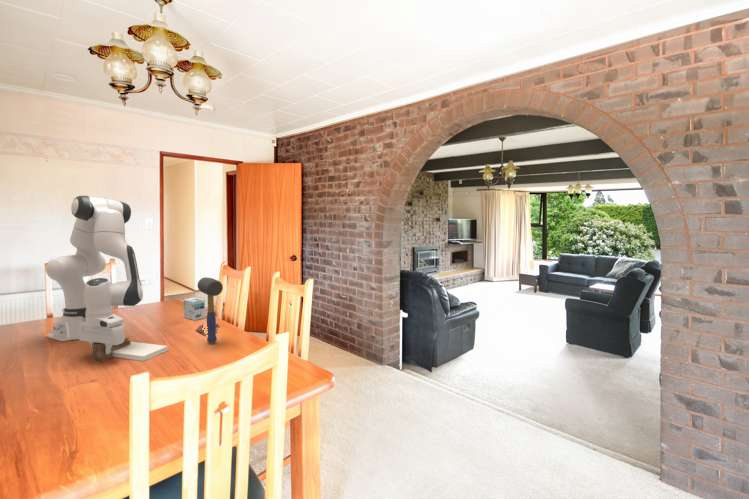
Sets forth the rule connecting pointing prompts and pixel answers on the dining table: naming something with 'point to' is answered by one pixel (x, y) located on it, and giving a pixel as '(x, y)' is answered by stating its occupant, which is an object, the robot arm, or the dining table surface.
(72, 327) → the robot arm
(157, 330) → the dining table surface
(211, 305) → the rubber mallet
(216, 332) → the wooden fragment
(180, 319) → the dining table surface
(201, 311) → the light bulb box
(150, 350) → the board
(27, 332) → the dining table surface
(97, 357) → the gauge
